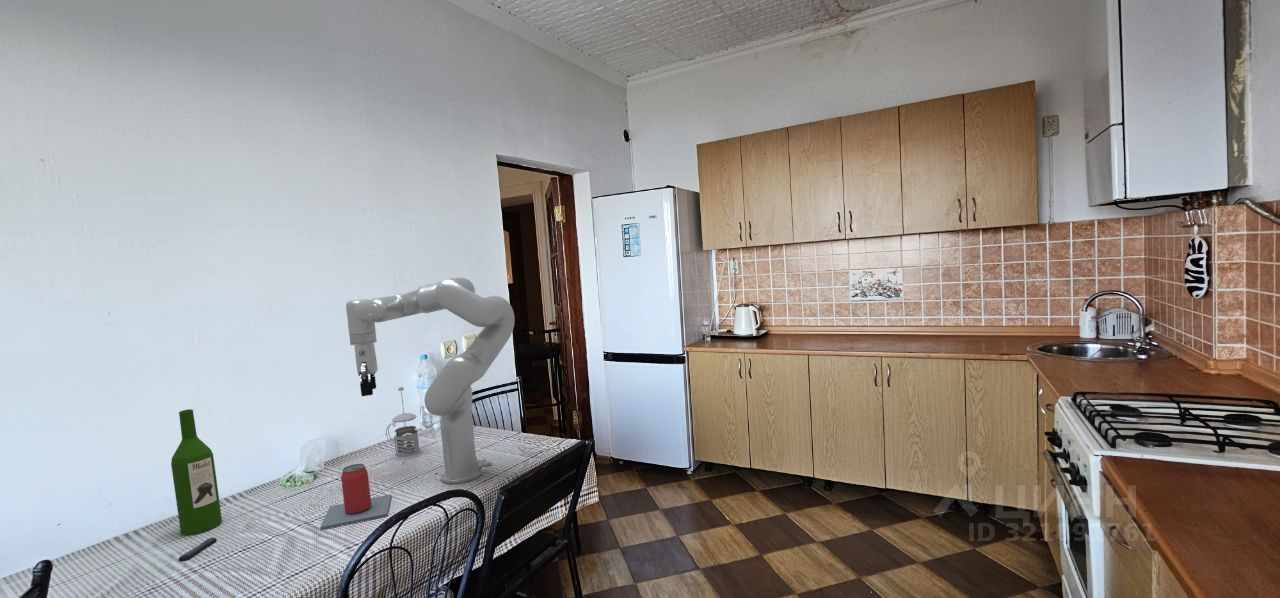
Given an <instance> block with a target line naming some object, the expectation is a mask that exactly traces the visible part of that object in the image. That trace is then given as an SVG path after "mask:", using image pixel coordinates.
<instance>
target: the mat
mask: <svg viewBox="0 0 1280 598" xmlns="http://www.w3.org/2000/svg"><path fill="white" fill-rule="evenodd" d="M391 501H392V494H385V495H380V496H375V497H371V506H370V508H369V509H367V510H366V511H363V512H361V513H356V514H348V513H346V512H345V507H344V502H343V503H339V504H334V505H330V506H329V507H328V509H327V512H326V514H325V516H324V518H323V520H322V523H321V525H320V531H323V529H324V530H328V529H327V528H329V529H332V528H331V527H334V528H337V527H336V526H339V527H342V526H341V525H344V526H348V525H353V524H357V523H362V522H366V521H367V522H368V521H372V520H377V519H381V518H387V517H388V515H389V513H390V512H389V511H390V505H391ZM347 524H348V525H347Z"/></svg>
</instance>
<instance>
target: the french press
mask: <svg viewBox="0 0 1280 598" xmlns="http://www.w3.org/2000/svg"><path fill="white" fill-rule="evenodd" d="M404 390H405V388H404V386H400V387H398V390H397V391H398V392H399V391H400V394H401V396H403V393H402V392H403V391H404ZM401 403H402V405H404V400H403V397H401ZM402 411H403V412H402V413H399V414H397V415H395V416H394V417H393V418H392V419H391V421H392V422H391V423H389V424H388V425H387V427H386V430H385V436H386V439H387V440H388V441H389V442H390V443H391V444H394V446H395V448H394V449H395V456H393V460H394V461H407V460H412V459H416V458H419V457H420V456H422V455H423V454H424V453H423V451H421V450H420V444H419V435H418V434H419V433H418V430H417V426H416V425H409V426H407V425H404V426H402V427H401V426H400V427H398V428H396V429H395V430H394V433H395V434H394V435H393V436H394V439H393V438H391V435H390V427H391V426H392V427H393V428H394V427H396V423H404V424H406V422H409V421H413V420H415V419H416V418H417V415H416V414H414V413H411V412H410V413H409V412H405V408H404V407H402ZM388 437H389V438H390V439H389V438H388ZM391 440H392V441H391Z"/></svg>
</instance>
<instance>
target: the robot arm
mask: <svg viewBox="0 0 1280 598" xmlns="http://www.w3.org/2000/svg"><path fill="white" fill-rule="evenodd" d="M345 310H346V319H347V327H348V328H347V329H348V335H349V337H348V338H349V343H350V344H349V345H350V346H354V355H355V364H356V371H357V375H358V376H359V381H360V382H359V386H360V387H359V388H360V392H361V393H360V394H361V397H367V396H373V394H374V391H373V390H376V389H377V382H376V376H375V375H376V373H377V372H378V370H379V368H378V362H377V354H376V347H375V343H377V342H378V341H377V340H378V339H377V332H376V323H383V322H384V323H385V322H388V321H391V320H392V321H393V320H397V319H401V318H406V317H410V316H413V315H418V314H422V313H423V314H429V313H435V312H438V311H443V310H447V311H448V312H450V313H451V314H454V315H455V316H457V317H458V318H460V319H463V321H465V322H467V323H469V324H471V325H473V326H476V327H479V328H482V330H481V331H480V332H479V333H478V334H477V335H476V336H475V338H474V339H473V341H472V343H471V344H470V345H469V346H468V348H466V350H465V351H463V352H462V353H460V354H458V355H455V356H454V357H452V358H451V359H449V361H447V363H446V364H445V365H444V366H443V368H442V369H441V370H440V372H439V373H438V374H437V376H436V377H435V379H433V381H432V383H430V386H429V387H428V388H427V390H426V392H425V395H424V397H423V398H424V402H423V403H424V406H425V408H426V410H427V412H429V413H430V414H431V415H434V416H437V417H439V416H440V420H439V421H440V435H441V445H442V456H443V462H444V464H443V465H444V471H443V472H442V473H441V474H440V481H441V482H442V483H445V484H462V483H467V482H469V481H473V480H475V479H477V478H479V477H480V476H481V475H482V474H483V468H485V467H486V468H487V467H492V466H493V465H492V459H489V460H488V459H487V458H484V459H478V457H477V455H476V444H475V435H474V433H475V432H474V425H473V423H474V422H473V410H472V409H473V389H472V385H473V384H475V383H476V382H477V381H480V379H482V378H483V377H484V375H485V374H486V373H487V371H488V370H489V368H490V367H491V365H492V364H493V362H494V361H495V360H496V358H498V356H499V354H500V352H501V351H502V349H503V348H504V346H505V345H506V344H507V342H508V341H509V339H510V338H511V336H512V334H513V331H514V329H515V328H514V327H515V321H516V320H515V313H514V309H513V307H512V305H511V304H510V302H509V301H508V300H507V299H506V298H504V297H501V296H498V295H497V296H496V295H493V296H490V295H489V296H486V297H485V296H484V297H482V296H480V295H479V294H477V293H476V288H475V286H474V284H473V282H472V281H471V280H469V279H467V278H466V277H453V278H446V279H443V280H441V281H438V282H435V283H429V284H426V285H421V286H419V287H418V288H417V289H416V290H412V291H409V292H404V293H400V294H395V295H388V296H382V297H376V298H371V299H366V298H364V299H363V298H362V299H353V300H348V301H347V302H346V304H345Z"/></svg>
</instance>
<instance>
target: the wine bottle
mask: <svg viewBox="0 0 1280 598" xmlns="http://www.w3.org/2000/svg"><path fill="white" fill-rule="evenodd" d="M178 416H179V422H180V423H179V425H180V434H181V441H180V443H179V444H178V446H177V448H176V450H175V452H174V454H173V455H172V457H171V461H170V462H171V463H170V465H171V472H172V479H173V487H174V493H175V494H174V495H175V499H176V500H175V501H176V508H177V516H178V523H179V531H180V533H181V534H182V535H184V536H193V535H199V534H203V533H205V532H209V531H211V530H213V529H216V528H217V527H219V526H220V525H221V524H222V522H223V519H222V512H221V511H222V510H221V503H220V495H219V489H218V482H217V481H218V480H217V474H216V466H215V458H214V453H213V451H212V449H211V448H210V446H208V445H207V444H205V443H204V442H203V441H202V440H201V439H200V438H199V437H198V435H197V428H196V422H195V416H194V409H192V408H191V409H190V408H188V409H183V410H180V411H179V412H178Z"/></svg>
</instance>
